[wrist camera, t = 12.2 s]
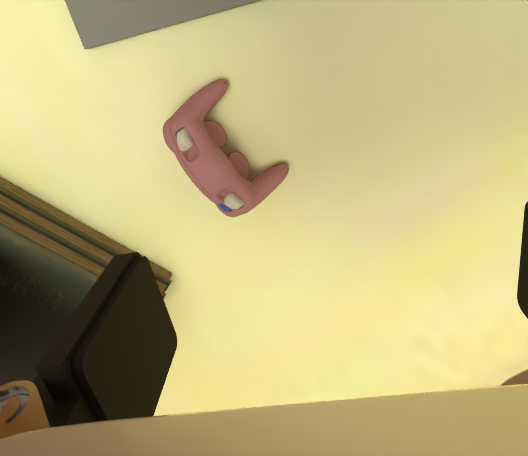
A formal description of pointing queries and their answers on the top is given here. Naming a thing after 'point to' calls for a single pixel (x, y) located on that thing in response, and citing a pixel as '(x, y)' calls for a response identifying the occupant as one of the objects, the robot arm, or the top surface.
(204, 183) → the video game controller
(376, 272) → the top surface
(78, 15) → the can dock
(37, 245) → the dark grey slab stack
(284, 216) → the top surface
